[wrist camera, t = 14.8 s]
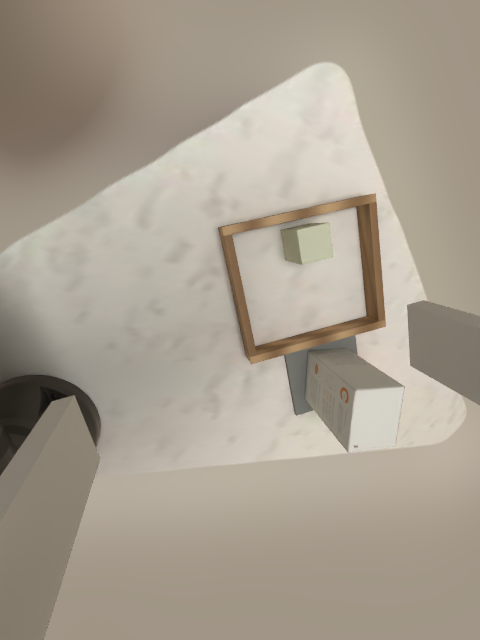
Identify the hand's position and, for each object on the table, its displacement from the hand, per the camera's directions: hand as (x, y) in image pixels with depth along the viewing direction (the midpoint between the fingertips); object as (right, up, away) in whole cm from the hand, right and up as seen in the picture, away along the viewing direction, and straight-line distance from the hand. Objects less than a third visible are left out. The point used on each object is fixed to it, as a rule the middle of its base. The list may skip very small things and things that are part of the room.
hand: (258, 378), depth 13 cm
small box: (+12, -6, +37) cm, 40 cm away
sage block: (+7, +13, +32) cm, 35 cm away
